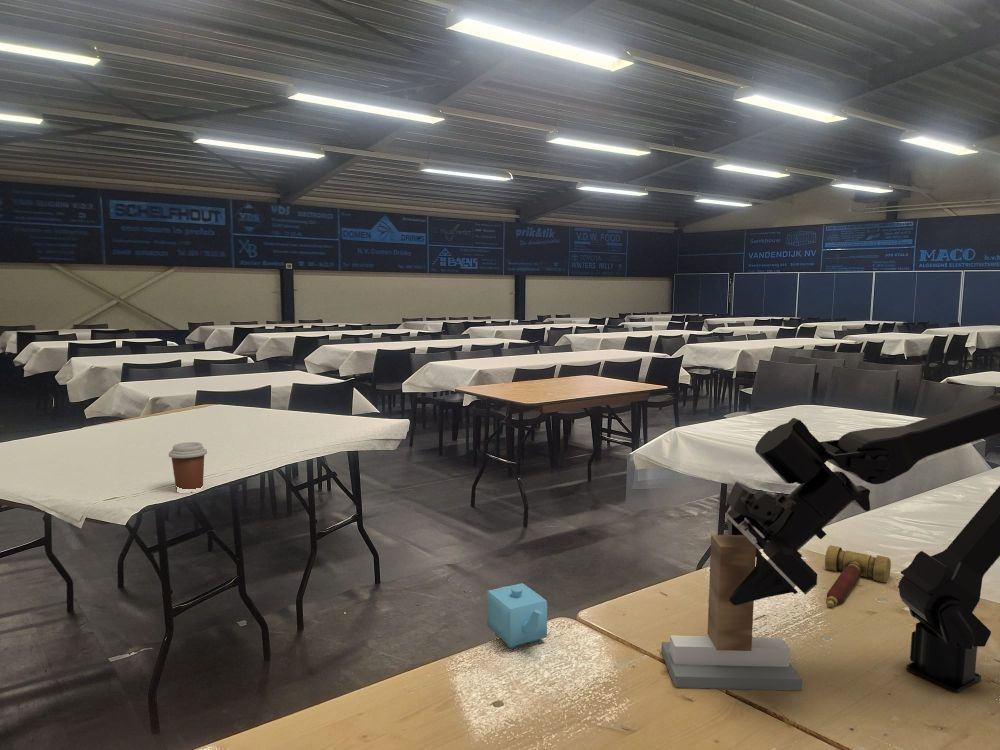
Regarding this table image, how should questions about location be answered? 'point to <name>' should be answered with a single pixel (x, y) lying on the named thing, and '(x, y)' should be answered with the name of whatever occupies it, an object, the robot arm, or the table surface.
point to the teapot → (516, 614)
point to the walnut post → (730, 592)
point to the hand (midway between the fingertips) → (721, 587)
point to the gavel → (853, 571)
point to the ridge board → (730, 664)
